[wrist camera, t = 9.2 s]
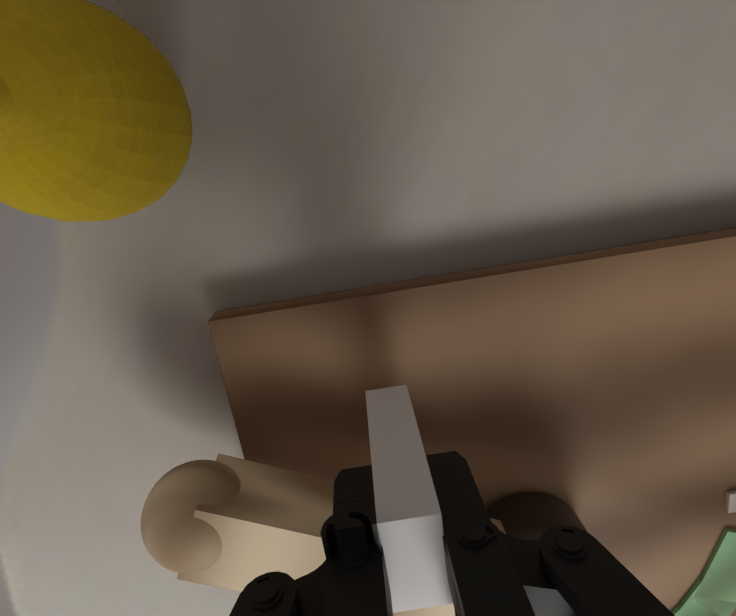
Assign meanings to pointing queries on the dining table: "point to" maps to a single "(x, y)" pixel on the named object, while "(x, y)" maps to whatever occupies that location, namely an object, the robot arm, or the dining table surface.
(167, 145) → the lemon
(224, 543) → the tan long two-tone device
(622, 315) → the board
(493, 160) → the dining table surface
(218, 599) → the dining table surface
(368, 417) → the robot arm
